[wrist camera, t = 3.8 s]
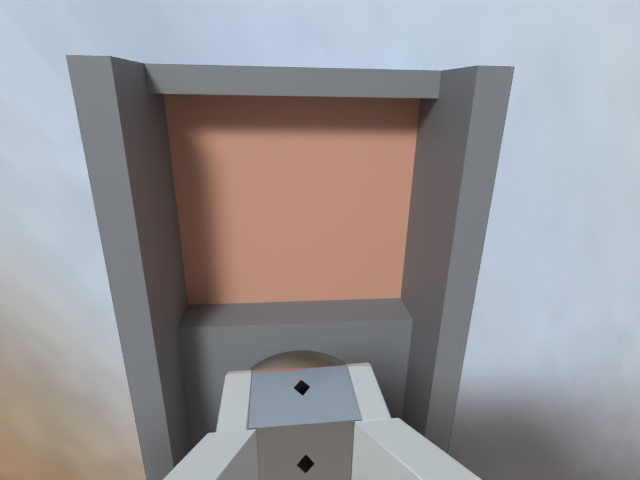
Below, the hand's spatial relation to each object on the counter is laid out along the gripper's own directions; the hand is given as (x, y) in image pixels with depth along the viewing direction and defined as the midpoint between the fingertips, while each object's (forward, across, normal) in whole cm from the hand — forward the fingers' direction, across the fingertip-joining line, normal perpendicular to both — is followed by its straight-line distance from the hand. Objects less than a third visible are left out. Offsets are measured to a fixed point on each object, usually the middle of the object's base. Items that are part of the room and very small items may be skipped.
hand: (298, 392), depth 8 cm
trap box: (+12, -1, +8) cm, 14 cm away
